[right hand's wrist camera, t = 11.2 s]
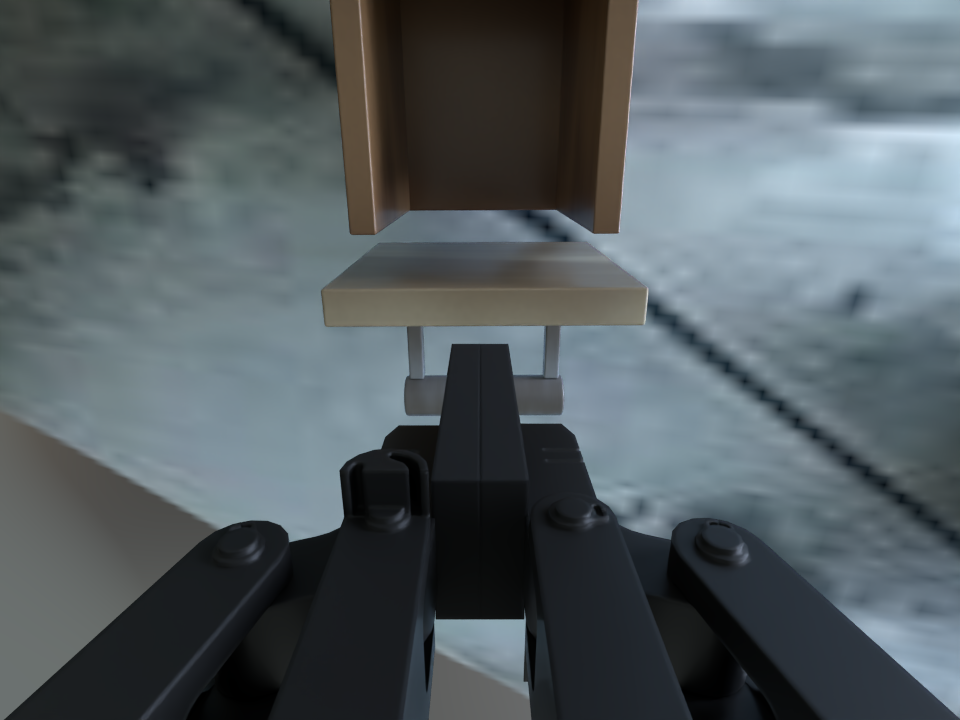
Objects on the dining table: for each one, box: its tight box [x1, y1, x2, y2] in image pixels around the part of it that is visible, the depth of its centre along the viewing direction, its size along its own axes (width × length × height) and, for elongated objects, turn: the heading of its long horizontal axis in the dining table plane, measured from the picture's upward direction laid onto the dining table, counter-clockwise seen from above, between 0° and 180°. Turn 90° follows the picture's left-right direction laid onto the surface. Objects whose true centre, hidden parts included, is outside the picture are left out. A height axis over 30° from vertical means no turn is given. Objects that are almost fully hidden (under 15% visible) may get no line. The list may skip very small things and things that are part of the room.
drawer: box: [321, 0, 649, 416], centre depth 19 cm, size 26×10×10 cm, turn 0°
